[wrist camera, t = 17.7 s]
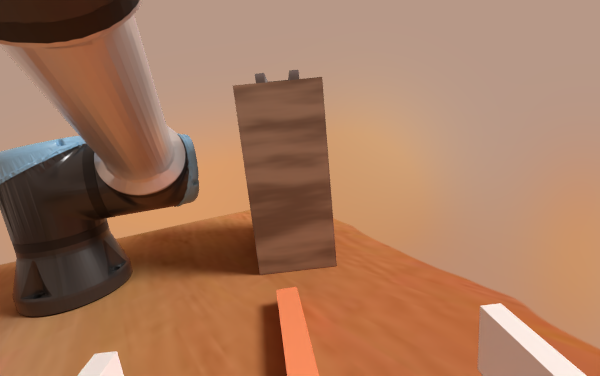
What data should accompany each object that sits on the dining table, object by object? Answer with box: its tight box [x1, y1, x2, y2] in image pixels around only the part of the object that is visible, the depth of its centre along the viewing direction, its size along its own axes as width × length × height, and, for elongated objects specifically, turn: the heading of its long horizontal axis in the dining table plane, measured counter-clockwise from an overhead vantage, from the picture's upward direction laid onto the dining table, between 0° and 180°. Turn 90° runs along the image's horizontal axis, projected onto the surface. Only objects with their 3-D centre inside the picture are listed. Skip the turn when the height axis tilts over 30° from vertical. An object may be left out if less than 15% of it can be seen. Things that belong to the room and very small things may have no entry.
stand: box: [233, 70, 337, 275], centre depth 52 cm, size 18×12×30 cm, turn 3°
